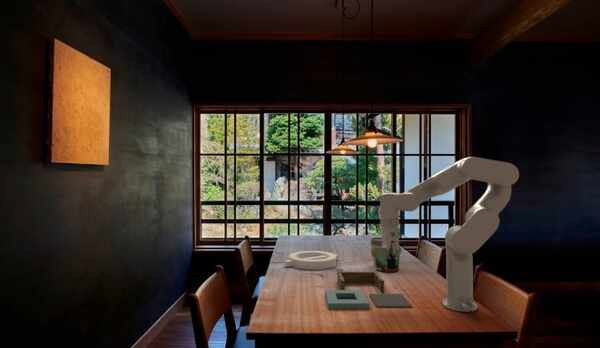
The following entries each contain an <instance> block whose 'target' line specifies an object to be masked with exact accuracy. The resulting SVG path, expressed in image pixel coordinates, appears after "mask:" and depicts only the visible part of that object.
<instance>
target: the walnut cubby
mask: <svg viewBox="0 0 600 348" xmlns="http://www.w3.org/2000/svg"><path fill="white" fill-rule="evenodd" d="M336 274H337V278H336V279H337V280H336V281H337V285H338V287H339V290H346V284H350V283H351V284H360V283H361V284H365V283H366V284H374V286H376V288H377V289H378V290H379V292H380V293H385V280H384V279H383V278H382V276H381V275H380V274H379V272H378V271H337V273H336Z"/></svg>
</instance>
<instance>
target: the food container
mask: <svg viewBox="0 0 600 348" xmlns="http://www.w3.org/2000/svg"><path fill="white" fill-rule="evenodd" d="M389 250H390V251H389V252H390V254H391V253H392V252H391V251H392V249H389ZM373 252H375V263H376V266H375V269H376V270H375V272H377V273H382V274H396V273H399V269H400V268H399V267H400V259H401V258H400V257H401V256H400V255H401V253H402V248H401V246H400V245H399V251H398V252H397V251H396V268H395V269H388V268H387V259H388V254H389V252H388V251H387V249H384V248H376V247H374V249H373Z"/></svg>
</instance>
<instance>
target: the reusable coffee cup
mask: <svg viewBox="0 0 600 348" xmlns="http://www.w3.org/2000/svg"><path fill="white" fill-rule="evenodd" d="M370 246H371V248H370V250H371V257H372V263H373V266H375V267H376V263H375V252H373V249H374V247H376V248H383V247H382V237H372V238H370Z"/></svg>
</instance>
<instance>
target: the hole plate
mask: <svg viewBox="0 0 600 348" xmlns="http://www.w3.org/2000/svg"><path fill="white" fill-rule="evenodd" d="M324 296H325V300H326V304H328V305H327V308H367V309H370V307H371V306H370V305H371V304H370V302H369V300H368V298H367V296H366V295H365V293H364V291H363V289H345V290H340V289H325V290H324Z"/></svg>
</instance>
